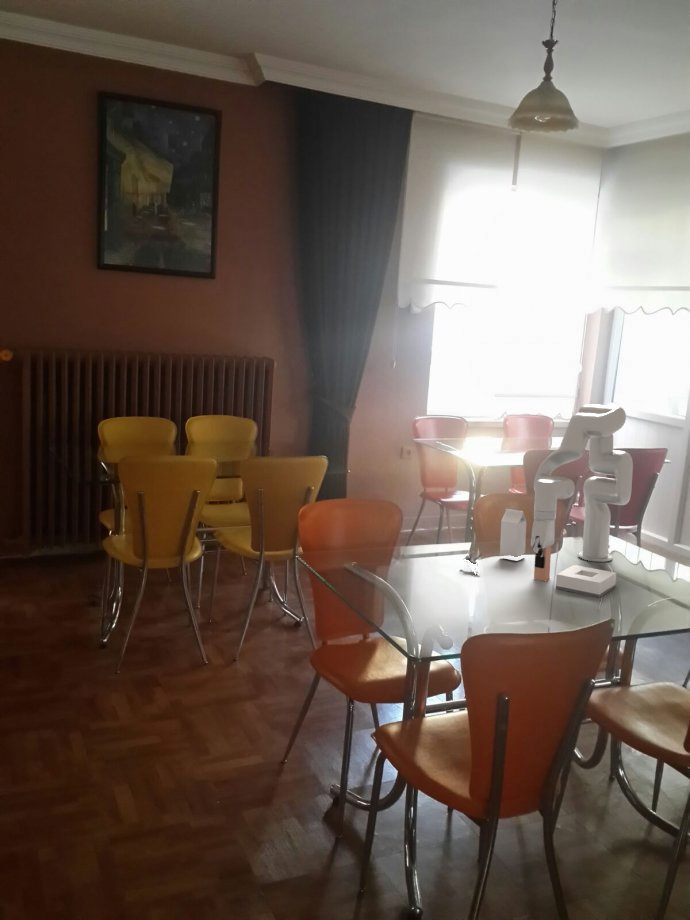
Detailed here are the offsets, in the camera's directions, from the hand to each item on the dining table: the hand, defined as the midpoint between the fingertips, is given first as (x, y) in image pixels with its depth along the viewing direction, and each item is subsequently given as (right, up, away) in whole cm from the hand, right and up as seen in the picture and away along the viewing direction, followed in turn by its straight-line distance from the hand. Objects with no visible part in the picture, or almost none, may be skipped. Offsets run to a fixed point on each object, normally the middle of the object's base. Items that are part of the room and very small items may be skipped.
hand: (542, 565), depth 290 cm
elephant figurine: (-23, -4, +8) cm, 24 cm away
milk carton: (-5, -1, +26) cm, 27 cm away
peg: (0, -5, +1) cm, 5 cm away
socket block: (+13, -6, -9) cm, 17 cm away
